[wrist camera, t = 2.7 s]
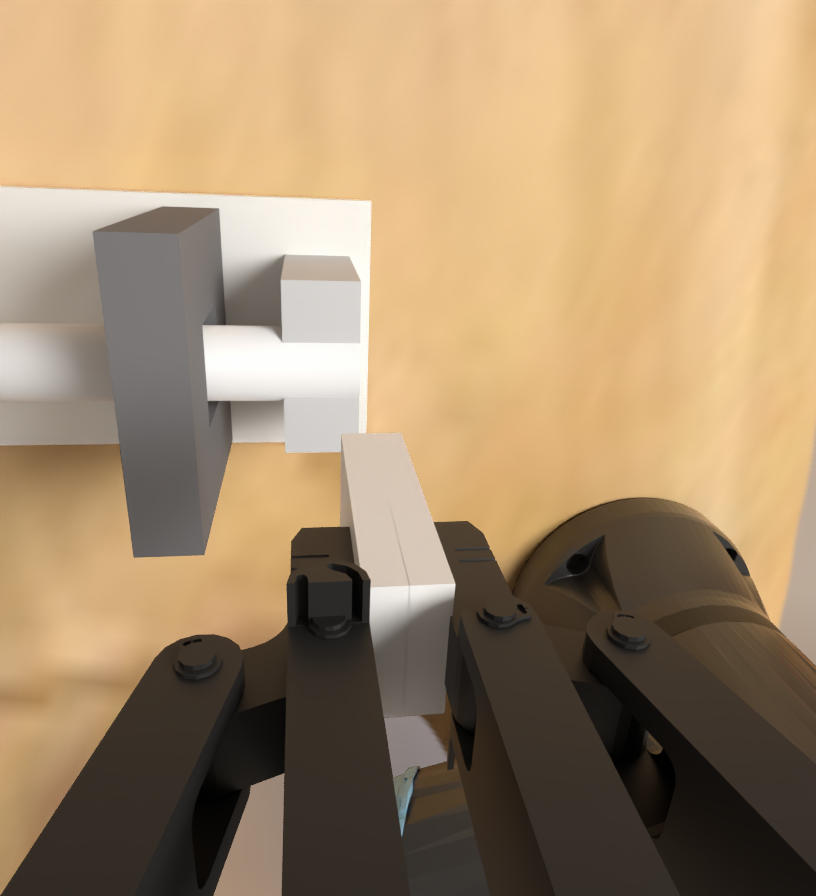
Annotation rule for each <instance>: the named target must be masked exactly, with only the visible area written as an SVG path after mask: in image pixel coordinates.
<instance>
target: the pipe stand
mask: <svg viewBox="0 0 816 896" xmlns="http://www.w3.org/2000/svg"><path fill="white" fill-rule="evenodd" d="M162 206H168V207H196V208H219V215H220V232H221V249H222V266H223V283H224V301H225V318H226V325H202V328H203V342H204V356H205V370H206V384H207V398H208V401H230V404H231V421H232V438H233V440H232V443H249V442H285V453H307V452H341V434H351V433H366V422H367V377H368V332H369V286H370V241H371V201H370V200H363V199H337V198H312V197H286V196H261V195H235V194H209V193H184V192H158V191H132V190H107V189H81V188H55V187H30V186H4V185H0V446H8V445H88V444H119V437H118V429H117V421H116V413H115V405H114V398H113V390H112V382H111V374H110V366H109V358H108V350H107V342H106V334H105V327H104V319H103V311H102V303H101V295H100V287H99V279H98V271H97V263H96V256H95V248H94V240H93V232H92V231H94V230H97V229H100V228H103V227H106V226H109V225H111V224H114V223H117V222H120V221H123V220H125V219H128V218H131V217H134V216H137V215H139V214H142V213H145V212H148V211H151V210H154V209H156V208H159V207H162Z"/></svg>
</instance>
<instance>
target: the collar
mask: <svg viewBox="0 0 816 896" xmlns="http://www.w3.org/2000/svg"><path fill="white" fill-rule="evenodd" d="M92 232H93V240H94V248H95V256H96V263H97V271H98V279H99V287H100V295H101V303H102V311H103V319H104V327H105V334H106V342H107V350H108V358H109V366H110V374H111V382H112V390H113V398H114V405H115V413H116V421H117V429H118V437H119V445H120V453H121V461H122V469H123V477H124V484H125V492H126V500H127V508H128V516H129V524H130V532H131V540H132V548H133V555H134V558H135V557H163V556H191V555H204V554H205V550H206V546H207V542H208V538H209V534H210V529H211V525H212V521H213V517H214V513H215V509H216V505H217V501H218V497H219V493H220V489H221V485H222V481H223V477H224V472H225V468H226V464H227V460H228V456H229V452H230V448H231V444H232V440H233V438H232V421H231V404H230V401H208V398H207V384H206V370H205V356H204V342H203V328H202V325H226V318H225V301H224V283H223V266H222V249H221V232H220V215H219V208H196V207H168V206H162V207H159V208H156V209H154V210H151V211H148V212H145V213H142V214H139V215H137V216H134V217H131V218H128V219H125V220H123V221H120V222H117V223H114V224H111V225H109V226H106V227H103V228H100V229H97V230H94V231H92Z"/></svg>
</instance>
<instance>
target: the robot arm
mask: <svg viewBox="0 0 816 896" xmlns="http://www.w3.org/2000/svg"><path fill="white" fill-rule="evenodd" d="M287 614H288V623H287V625H286V626H285V628H284V629H283V630H282V631H281V632H280V633H279V634H278V635H277V636H276V637H274V638H272V639H271V640H269V641H267V642H266V643H263V644H260V645H258V646H255V647H252V648H248V649H245V650H241V649H240V647H239V645H237V644H236V643H235V642H233V641H232V640H230V639H229V638H226V637H222V636H218V635H214V634H212V635H195V636H191V637H187V638H183V639H180V640H178V641H176V642H174V643H173V644H171V645H169V646H167V647H165V648H164V649H163V650H162V651H161V652H160V653H159V655H158V656H157V657H156V658H155V659H154V660H153V662H152V664H151V665H150V667H149V668H148V670H147V671H146V673H145V674H144V676H143V677H142V679H141V680H140V682H139V683H138V685H137V687H136V688H135V690H134V691H133V693H132V694H131V696H130V697H129V699H128V700H127V702H126V703H125V705H124V707H123V708H122V710H121V711H120V713H119V714H118V716H117V717H116V719H115V720H114V722H113V723H112V725H111V727H110V728H109V730H108V731H107V733H106V734H105V736H104V737H103V739H102V740H101V742H100V743H99V745H98V747H97V748H96V750H95V751H94V753H93V754H92V756H91V757H90V759H89V760H88V762H87V763H86V765H85V767H84V768H83V770H82V771H81V773H80V774H79V776H78V777H77V779H76V780H75V782H74V783H73V785H72V786H71V788H70V790H69V791H68V793H67V794H66V796H65V797H64V799H63V800H62V802H61V803H60V805H59V806H58V808H57V810H56V811H55V813H54V814H53V816H52V817H51V819H50V820H49V822H48V823H47V825H46V826H45V828H44V830H43V831H42V833H41V834H40V836H39V837H38V839H37V840H36V842H35V843H34V845H33V846H32V848H31V850H30V851H29V853H28V854H27V856H26V857H25V859H24V860H23V862H22V863H21V865H20V866H19V868H18V870H17V871H16V873H15V874H14V876H13V877H12V879H11V880H10V882H9V883H8V885H7V886H6V888H5V890H4V891H3V893H2V894H1V896H213V895H214V892H215V889H216V886H217V883H218V881H219V878H220V875H221V872H222V870H223V867H224V864H225V861H226V859H227V856H228V853H229V850H230V848H231V845H232V842H233V839H234V836H235V834H236V831H237V828H238V825H239V823H240V820H241V817H242V814H243V811H244V809H245V806H246V803H247V801H248V798H249V794H250V786H251V785H254V784H256V783H259V782H262V781H264V780H267V779H270V778H272V777H275V776H277V775H280V774H283V773H285V776H284V820H283V821H284V822H283V823H284V824H283V864H282V896H816V665H815V664H813V662H811V661H810V660H809V659H808V658H807V657H806V656H805V655H804V654H803V653H802V652H801V651H800V650H799V649H798V648H797V647H796V646H795V645H794V644H793V643H792V642H791V641H790V640H789V639H788V638H786V636H785V635H784V634H783V633H782V632H781V631H780V630H779V629H778V628H777V627H776V626H775V625H774V624H773V623H772V622H771V621H770V619H769V617H768V614H767V612H766V610H765V607H764V605H763V603H762V600H761V598H760V596H759V593H758V591H757V589H756V587H755V584H754V582H753V580H752V579H751V577H750V574H749V571H748V568H747V566H746V564H745V562H744V560H743V558H742V556H741V554H740V552H739V551H738V549H737V548H736V547H735V545H734V544H733V543H732V542H731V540H730V539H729V538H728V537H727V536H726V535H725V534H724V533H723V532H721V531H720V530H719V529H718V528H717V527H716V526H715V525H714V524H713V523H711V522H710V521H709V520H708V519H707V518H706V517H704V516H703V515H702V514H700V513H699V512H697V511H696V510H694V509H692V508H690V507H688V506H685V505H683V504H680V503H677V502H673V501H669V500H664V499H656V498H634V499H626V500H620V501H616V502H612V503H608V504H605V505H602V506H599V507H596V508H594V509H591V510H589V511H587V512H585V513H583V514H581V515H579V516H577V517H575V518H574V519H572V520H570V521H569V522H567V523H566V524H564V525H563V526H562V527H560V528H559V529H557V530H556V531H555V532H554V533H553V534H551V535H550V536H549V537H548V538H547V539H546V540H545V541H544V542H543V543H542V544H541V545H540V546H539V547H538V548H537V550H536V551H535V552H534V553H533V554H532V556H531V557H530V559H529V560H528V561H527V563H526V564H525V566H524V568H523V569H522V571H521V573H520V575H519V577H518V579H517V582H516V584H515V587H514V590H513V593H511V591H510V589H509V587H508V585H507V583H506V580H505V578H504V576H503V574H502V572H501V570H500V568H499V566H498V564H497V562H496V561H495V557H494V555H493V553H492V551H491V550H490V549H489V545H488V543H487V541H486V539H485V536H484V534H483V533H482V532H481V531H480V530H478V529H477V528H476V527H474V526H473V525H472V524H471V523H469V522H468V521H457V522H433V520H432V517H431V514H430V511H429V508H428V506H427V503H426V500H425V497H424V494H423V492H422V489H421V486H420V483H419V480H418V478H417V475H416V472H415V469H414V466H413V464H412V461H411V458H410V455H409V452H408V450H407V447H406V444H405V441H404V439H403V436H402V433H351V434H341V511H340V527H320V528H301V530H300V531H299V532H298V534H297V535H296V536H295V537H294V539H293V540H292V541H291V574H290V576H289V579H288V581H287ZM446 691H447V694H448V698H449V702H450V705H451V709H452V712H451V723H450V734H449V745H448V756H447V762H443V763H440V764H436V765H432V766H428V767H425V768H421V769H420V767H418V766H415V767H412V768H408V769H407V771H406V772H405V774H403V775H399V776H396V777H394V778H393V775H392V769H391V762H390V755H389V749H388V742H387V735H386V729H385V722H384V718H388V717H401V716H416V715H429V714H443V713H445V701H446ZM455 757H456V759H455Z"/></svg>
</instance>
